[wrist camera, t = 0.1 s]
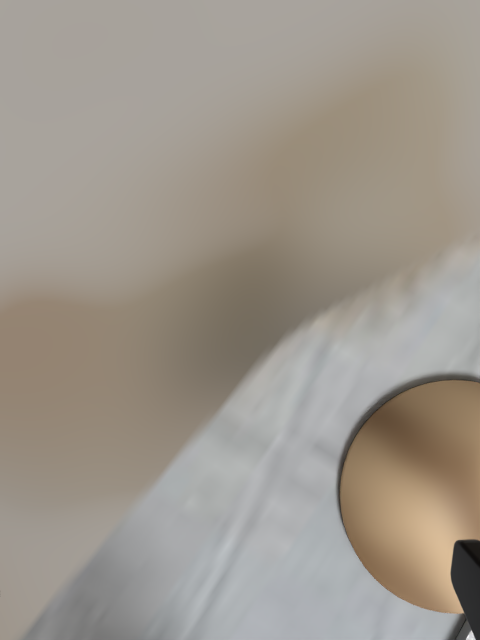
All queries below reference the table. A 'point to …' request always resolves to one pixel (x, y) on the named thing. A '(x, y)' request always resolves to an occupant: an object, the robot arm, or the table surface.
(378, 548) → the cork trivet
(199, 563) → the table surface
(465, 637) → the stone coaster
